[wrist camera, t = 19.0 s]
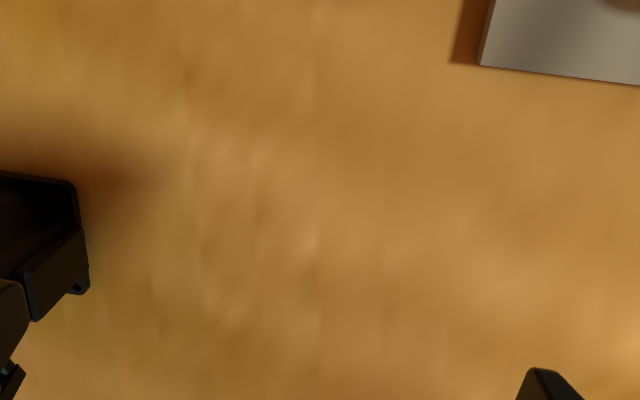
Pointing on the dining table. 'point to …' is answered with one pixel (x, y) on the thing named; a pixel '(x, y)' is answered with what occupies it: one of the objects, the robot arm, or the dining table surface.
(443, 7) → the dining table surface
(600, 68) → the jig
